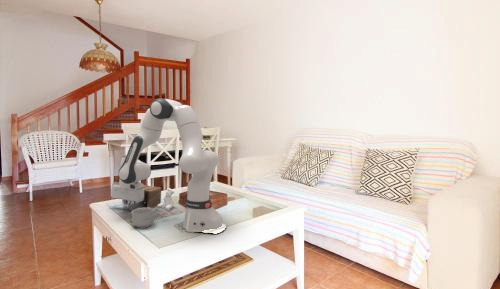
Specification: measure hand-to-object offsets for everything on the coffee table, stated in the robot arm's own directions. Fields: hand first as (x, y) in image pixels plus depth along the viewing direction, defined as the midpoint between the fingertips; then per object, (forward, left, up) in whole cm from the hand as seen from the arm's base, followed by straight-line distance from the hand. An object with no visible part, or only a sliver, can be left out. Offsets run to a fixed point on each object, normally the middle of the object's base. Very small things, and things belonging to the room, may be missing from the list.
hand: (126, 207), depth 165 cm
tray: (0, -7, -2) cm, 7 cm away
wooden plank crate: (0, -14, -2) cm, 14 cm away
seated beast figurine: (-17, -15, -2) cm, 23 cm away
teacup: (-23, +15, -2) cm, 28 cm away
